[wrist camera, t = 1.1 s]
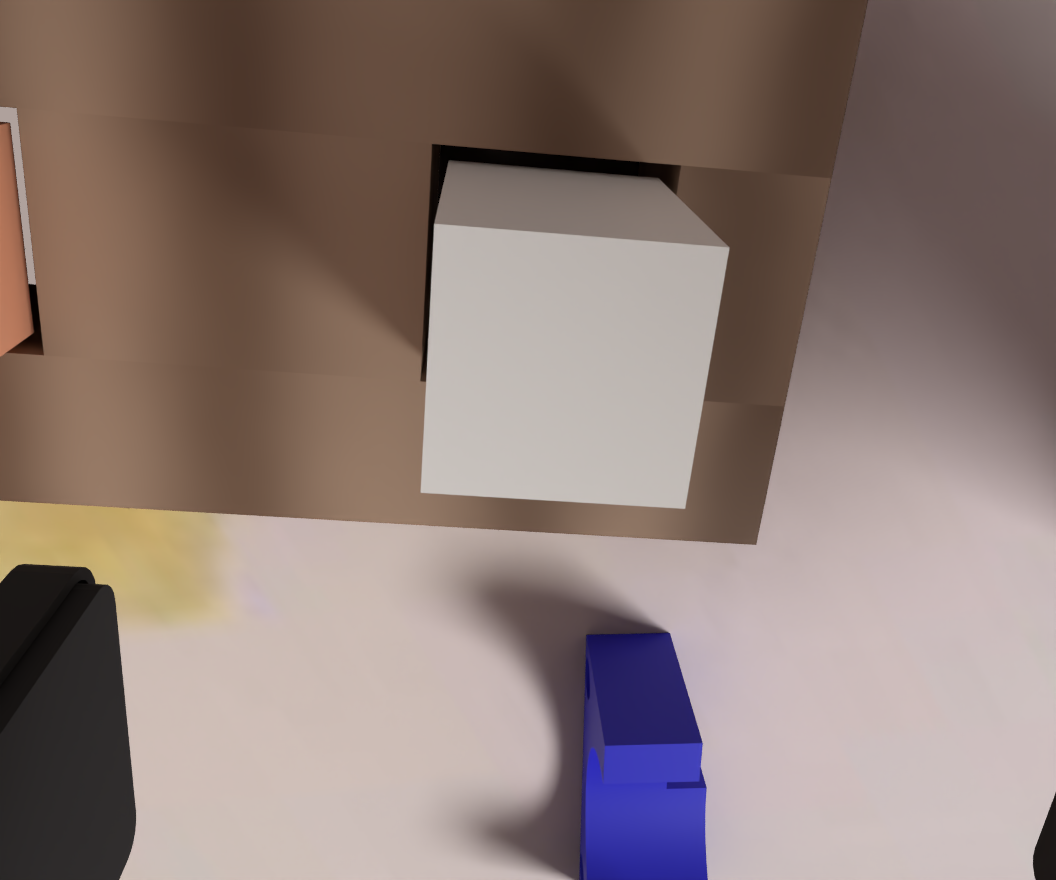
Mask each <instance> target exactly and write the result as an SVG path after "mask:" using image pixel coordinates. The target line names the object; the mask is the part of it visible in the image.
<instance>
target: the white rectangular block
mask: <svg viewBox="0 0 1056 880" xmlns="http://www.w3.org/2000/svg"><path fill="white" fill-rule="evenodd" d="M728 254H729V247H728V246H727V245H726V244H725V243H724V242H723V241H722V240H721V239H720V238H719V237H718V236H717V235H716V234H715V233H714V232H713V231H712V230H711V229H710V228H709V227H708V226H707V225H706V224H705V223H704V222H703V221H702V220H701V219H700V218H699V217H698V216H697V215H696V214H695V213H694V212H693V211H692V210H691V209H690V208H689V207H688V206H686V205H685V204H684V203H683V202H682V201H681V200H680V199H679V198H678V197H677V196H676V195H675V194H674V193H673V192H672V191H671V190H670V189H669V188H668V187H667V186H666V185H665V184H664V183H663V182H662V181H661V180H660V179H659V178H652V177H641V176H629V175H617V174H606V173H594V172H582V171H570V170H559V169H547V168H535V167H524V166H512V165H500V164H488V163H477V162H465V161H453V160H449V162H448V167H447V171H446V175H445V180H444V184H443V188H442V193H441V197H440V201H439V205H438V210H437V214H436V218H435V223H434V239H433V259H432V278H431V298H430V317H429V337H428V357H427V376H426V396H425V415H424V435H423V455H422V474H421V493H432V494H449V495H465V496H482V497H498V498H515V499H531V500H547V501H564V502H580V503H597V504H613V505H629V506H646V507H662V508H679V509H685V506H686V500H687V494H688V488H689V483H690V477H691V471H692V465H693V459H694V453H695V447H696V442H697V436H698V430H699V424H700V418H701V412H702V406H703V400H704V395H705V389H706V383H707V377H708V371H709V365H710V359H711V353H712V348H713V342H714V336H715V330H716V324H717V318H718V312H719V306H720V301H721V295H722V289H723V283H724V277H725V271H726V265H727V260H728Z"/></svg>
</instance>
